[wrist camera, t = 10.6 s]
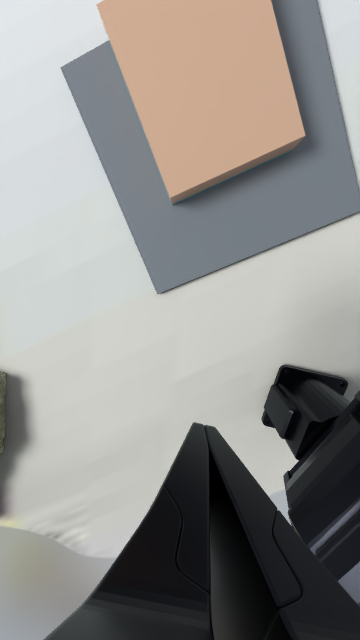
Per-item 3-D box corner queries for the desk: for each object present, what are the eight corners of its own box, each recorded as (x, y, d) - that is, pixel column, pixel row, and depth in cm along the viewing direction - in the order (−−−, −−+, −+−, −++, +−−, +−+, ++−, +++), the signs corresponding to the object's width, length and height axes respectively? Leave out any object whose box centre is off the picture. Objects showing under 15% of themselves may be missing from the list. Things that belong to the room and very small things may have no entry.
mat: (359, 211, 18) (363, 209, 18) (158, 293, 20) (157, 294, 20) (298, -60, 15) (301, -69, 14) (63, 72, 17) (60, 67, 17)
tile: (305, 135, 15) (249, -86, 13) (170, 197, 16) (96, 4, 14) (292, 150, 17) (241, -39, 15) (172, 205, 18) (107, 36, 16)
